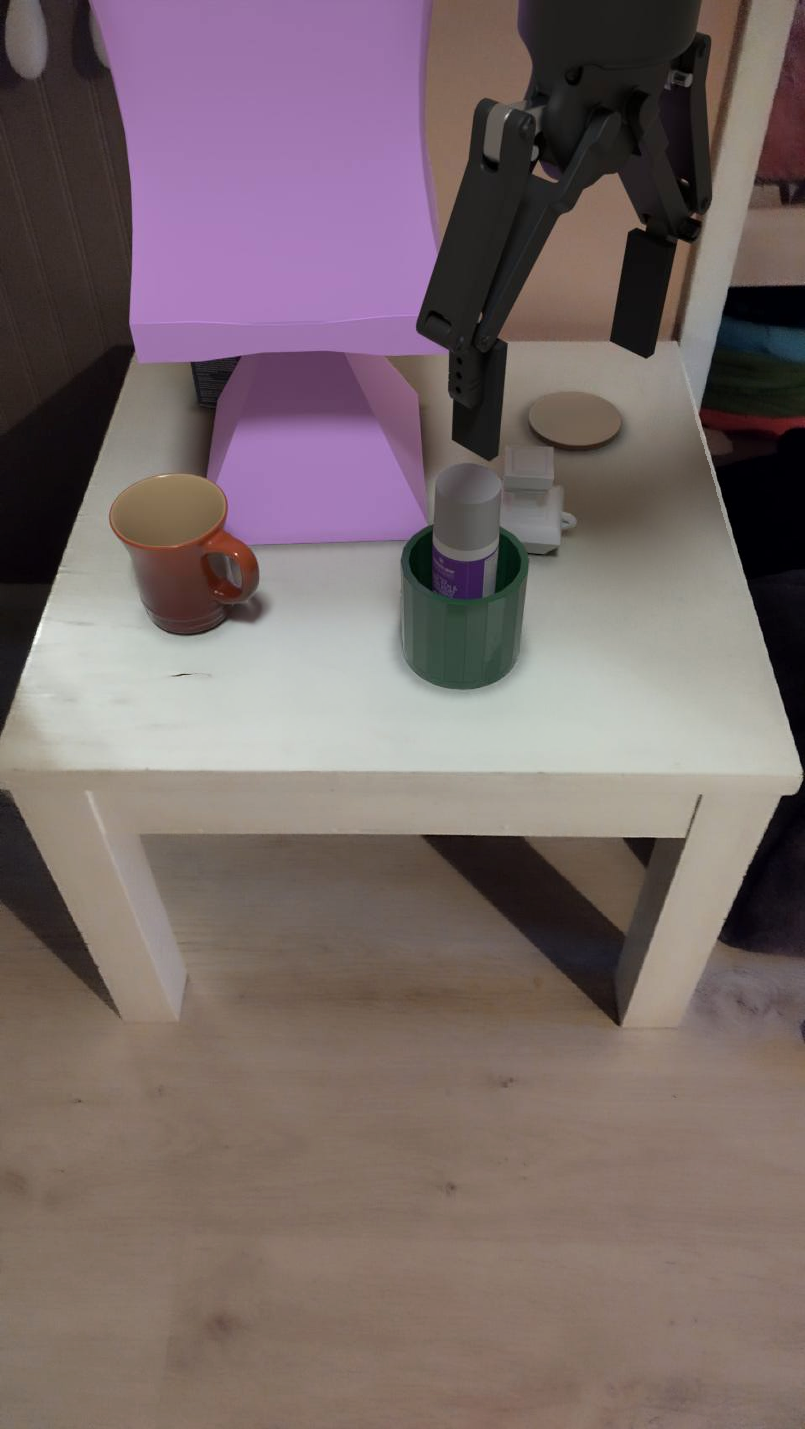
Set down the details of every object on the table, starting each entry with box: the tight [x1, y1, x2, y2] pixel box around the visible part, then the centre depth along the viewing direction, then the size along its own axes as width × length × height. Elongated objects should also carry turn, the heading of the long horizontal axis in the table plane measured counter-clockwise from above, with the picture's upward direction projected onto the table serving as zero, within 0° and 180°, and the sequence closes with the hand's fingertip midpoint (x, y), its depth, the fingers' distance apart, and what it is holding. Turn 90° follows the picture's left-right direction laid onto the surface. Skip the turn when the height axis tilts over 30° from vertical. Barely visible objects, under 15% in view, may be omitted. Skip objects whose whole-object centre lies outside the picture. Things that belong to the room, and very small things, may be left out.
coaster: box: [527, 391, 623, 452], centre depth 98 cm, size 9×9×1 cm
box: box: [189, 356, 242, 409], centre depth 99 cm, size 8×6×11 cm
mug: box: [108, 472, 260, 634], centre depth 78 cm, size 12×9×10 cm
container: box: [432, 462, 502, 599], centre depth 74 cm, size 5×5×15 cm
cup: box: [399, 523, 530, 690], centre depth 76 cm, size 9×9×9 cm
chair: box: [88, 0, 449, 546], centre depth 77 cm, size 22×22×45 cm
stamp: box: [500, 444, 578, 555], centre depth 85 cm, size 9×7×8 cm
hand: (557, 395), depth 57 cm, fingers open, 13 cm apart
